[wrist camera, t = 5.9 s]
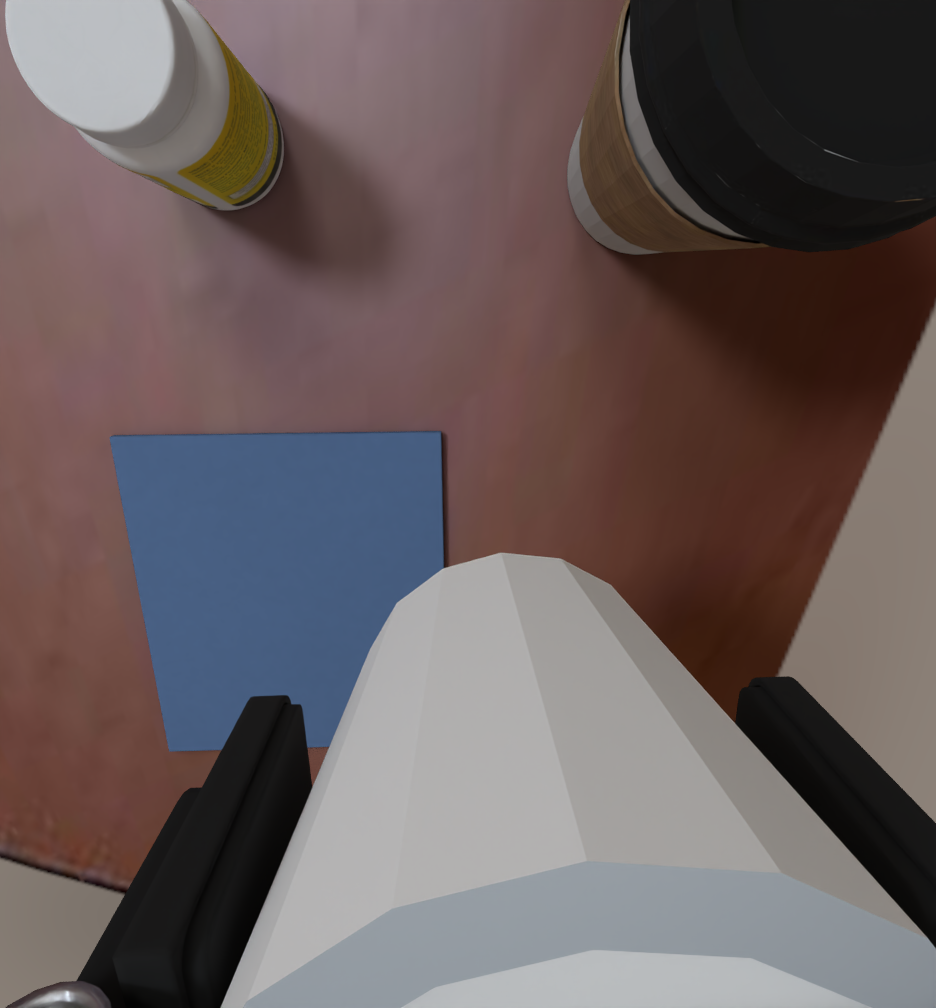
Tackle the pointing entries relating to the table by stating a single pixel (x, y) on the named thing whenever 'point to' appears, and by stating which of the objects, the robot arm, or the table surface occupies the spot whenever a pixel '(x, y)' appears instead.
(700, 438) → the table surface
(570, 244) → the table surface
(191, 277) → the table surface
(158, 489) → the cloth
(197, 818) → the robot arm
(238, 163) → the supplement bottle
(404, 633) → the white cup
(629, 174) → the coffee cup
